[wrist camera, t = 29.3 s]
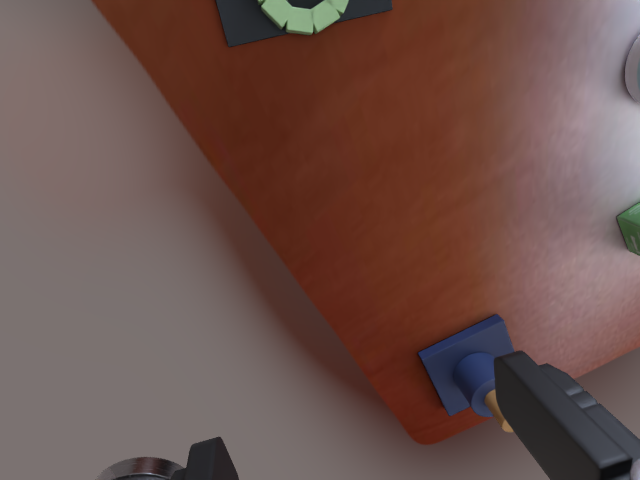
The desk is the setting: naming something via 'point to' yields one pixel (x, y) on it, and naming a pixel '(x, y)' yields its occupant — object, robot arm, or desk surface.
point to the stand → (469, 368)
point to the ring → (303, 15)
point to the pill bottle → (633, 71)
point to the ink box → (631, 228)
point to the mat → (253, 24)
